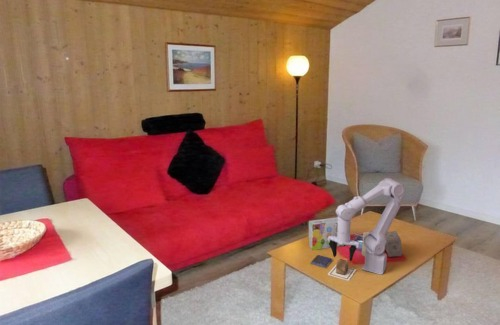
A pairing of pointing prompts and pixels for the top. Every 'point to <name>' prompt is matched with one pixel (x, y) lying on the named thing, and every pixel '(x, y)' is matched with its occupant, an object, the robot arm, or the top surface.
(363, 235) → the skincare box
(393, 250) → the incense holder
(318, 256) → the ink pad
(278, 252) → the top surface
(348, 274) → the marked card
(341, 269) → the walnut stamp
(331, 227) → the snack box
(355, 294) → the top surface
